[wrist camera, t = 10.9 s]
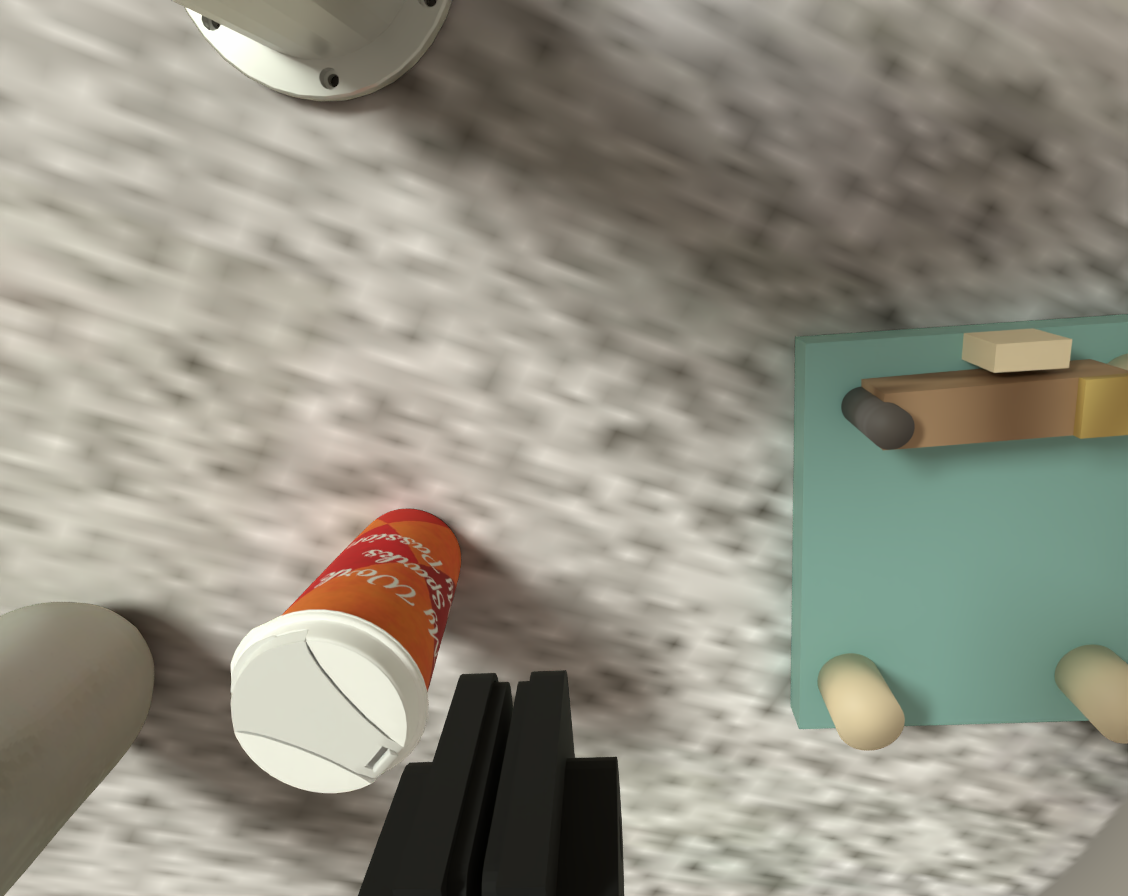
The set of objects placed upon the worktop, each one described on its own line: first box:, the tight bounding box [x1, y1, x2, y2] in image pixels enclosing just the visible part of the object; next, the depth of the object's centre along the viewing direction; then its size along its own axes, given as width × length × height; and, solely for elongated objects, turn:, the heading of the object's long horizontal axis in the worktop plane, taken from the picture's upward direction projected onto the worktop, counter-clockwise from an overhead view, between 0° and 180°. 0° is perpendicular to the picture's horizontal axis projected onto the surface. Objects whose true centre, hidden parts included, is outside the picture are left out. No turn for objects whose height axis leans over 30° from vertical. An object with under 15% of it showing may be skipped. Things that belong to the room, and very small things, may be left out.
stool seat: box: [791, 314, 1128, 750], centre depth 36 cm, size 21×17×6 cm
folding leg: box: [841, 359, 1128, 450], centre depth 33 cm, size 11×2×4 cm, turn 96°
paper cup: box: [231, 509, 461, 793], centre depth 34 cm, size 8×8×14 cm
